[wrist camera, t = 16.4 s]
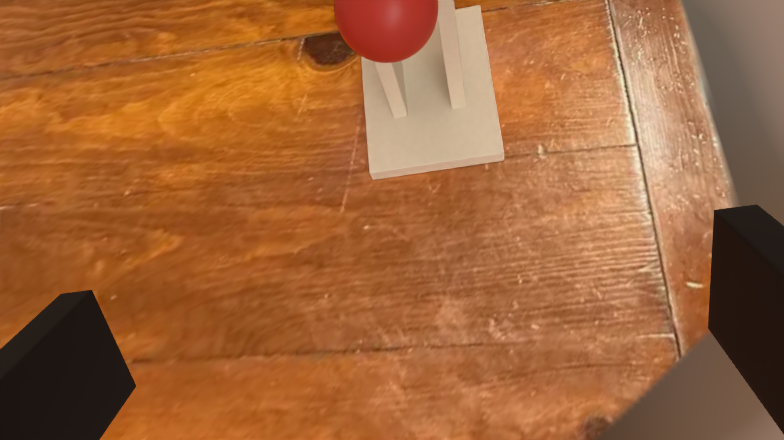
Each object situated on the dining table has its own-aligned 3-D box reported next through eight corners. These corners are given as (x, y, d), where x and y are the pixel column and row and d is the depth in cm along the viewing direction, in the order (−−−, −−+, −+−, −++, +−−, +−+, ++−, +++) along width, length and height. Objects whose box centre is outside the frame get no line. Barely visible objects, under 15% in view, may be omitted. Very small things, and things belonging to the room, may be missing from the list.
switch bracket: (504, 160, 39) (505, 14, 25) (372, 180, 40) (304, 51, 26) (480, 15, 43) (469, -179, 29) (362, 37, 44) (298, -139, 30)
